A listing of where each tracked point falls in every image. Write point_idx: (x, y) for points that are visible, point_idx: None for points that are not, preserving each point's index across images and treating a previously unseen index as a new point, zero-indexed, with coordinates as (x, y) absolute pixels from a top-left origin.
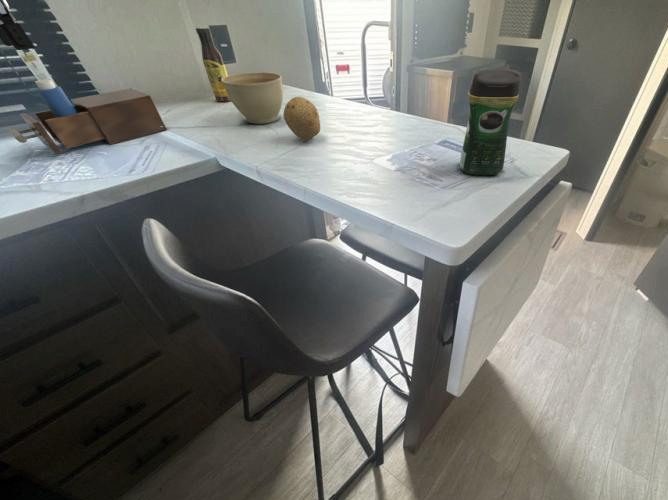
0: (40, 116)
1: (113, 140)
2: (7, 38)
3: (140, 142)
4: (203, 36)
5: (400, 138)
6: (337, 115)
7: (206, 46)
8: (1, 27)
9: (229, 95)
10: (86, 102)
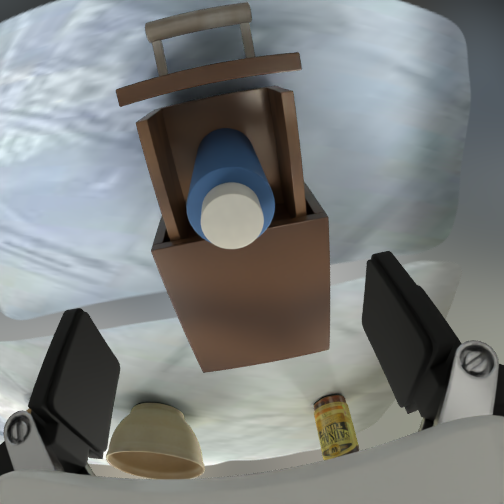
0: (280, 100)
1: None
2: (380, 304)
3: (141, 258)
4: None
5: None
6: None
7: None
8: (36, 398)
9: (142, 433)
10: (233, 253)
